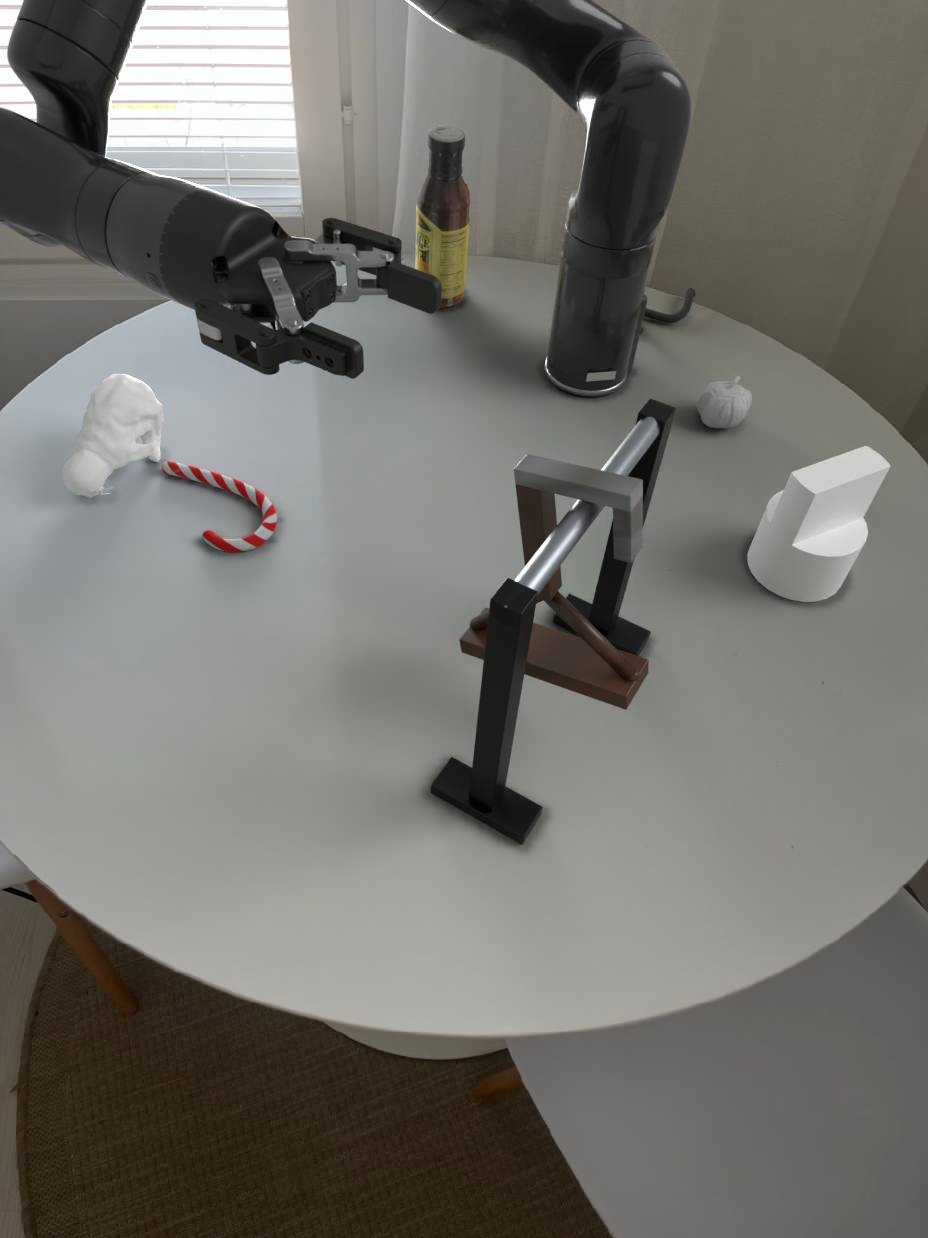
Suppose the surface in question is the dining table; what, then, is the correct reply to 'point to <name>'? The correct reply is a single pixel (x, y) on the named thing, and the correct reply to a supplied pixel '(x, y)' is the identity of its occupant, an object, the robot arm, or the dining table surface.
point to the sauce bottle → (444, 214)
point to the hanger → (553, 652)
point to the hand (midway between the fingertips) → (401, 328)
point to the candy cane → (237, 488)
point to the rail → (514, 617)
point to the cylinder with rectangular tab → (816, 526)
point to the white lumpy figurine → (114, 433)
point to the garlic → (724, 404)
